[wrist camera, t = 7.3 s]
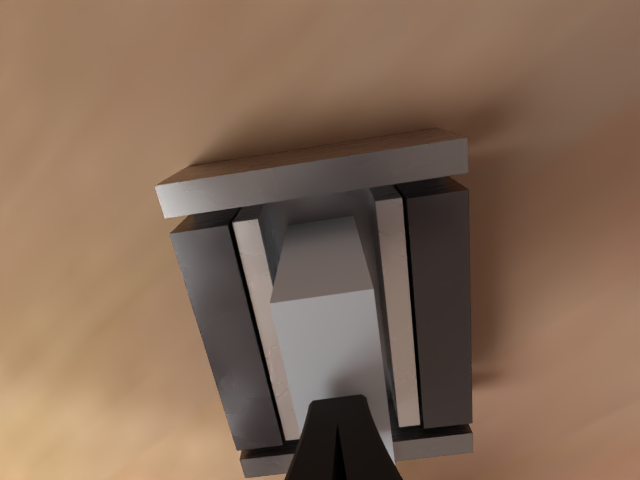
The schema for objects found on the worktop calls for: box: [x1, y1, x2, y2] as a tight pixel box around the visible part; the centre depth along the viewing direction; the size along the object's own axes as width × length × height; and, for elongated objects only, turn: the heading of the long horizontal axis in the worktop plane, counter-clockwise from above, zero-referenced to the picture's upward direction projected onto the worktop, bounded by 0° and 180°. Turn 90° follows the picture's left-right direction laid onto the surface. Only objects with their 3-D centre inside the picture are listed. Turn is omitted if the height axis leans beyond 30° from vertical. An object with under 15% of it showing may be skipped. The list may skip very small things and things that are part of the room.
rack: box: [155, 128, 473, 478], centre depth 14 cm, size 9×12×3 cm
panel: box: [270, 216, 395, 464], centre depth 13 cm, size 2×7×6 cm, turn 9°
